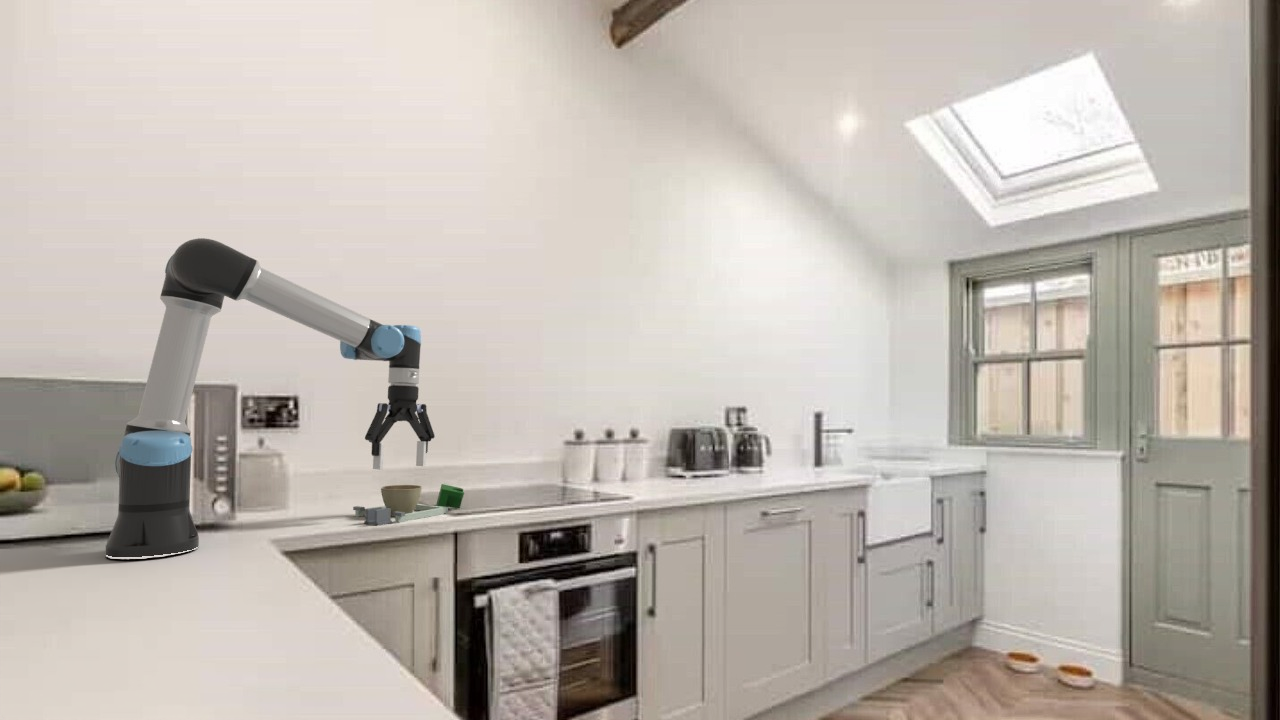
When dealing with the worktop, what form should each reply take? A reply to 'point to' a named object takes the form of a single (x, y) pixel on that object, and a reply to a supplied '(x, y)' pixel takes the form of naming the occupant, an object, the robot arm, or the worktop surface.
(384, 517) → the clip
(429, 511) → the holder
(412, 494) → the flower pot
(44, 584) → the worktop surface
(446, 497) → the clamp
